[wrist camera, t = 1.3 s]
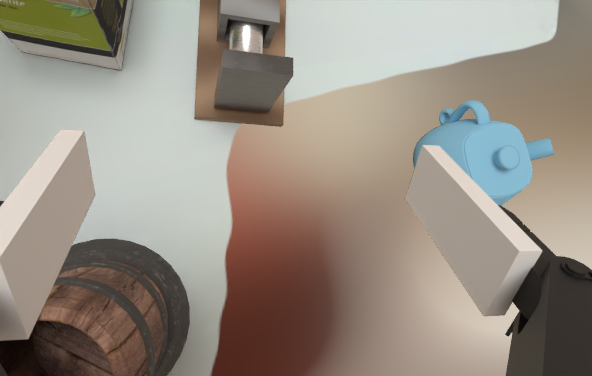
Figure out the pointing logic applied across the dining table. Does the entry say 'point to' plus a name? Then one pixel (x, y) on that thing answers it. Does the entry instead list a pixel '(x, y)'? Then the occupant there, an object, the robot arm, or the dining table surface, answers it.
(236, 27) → the grey piece
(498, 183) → the teapot
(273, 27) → the tube stand
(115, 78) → the dining table surface
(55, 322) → the tankard
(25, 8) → the tea box
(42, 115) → the dining table surface
